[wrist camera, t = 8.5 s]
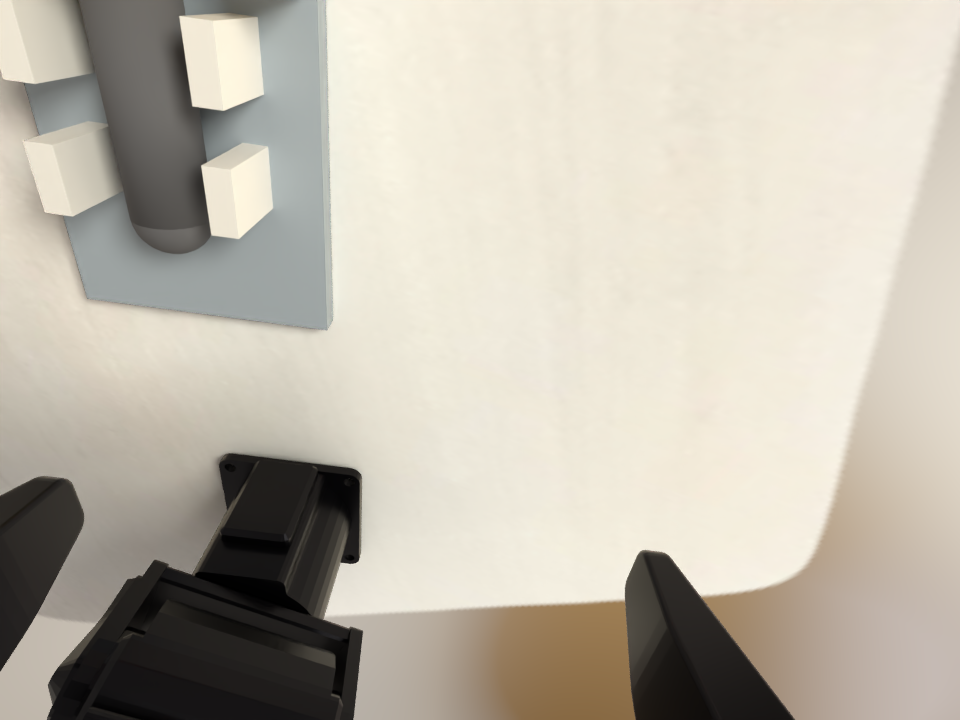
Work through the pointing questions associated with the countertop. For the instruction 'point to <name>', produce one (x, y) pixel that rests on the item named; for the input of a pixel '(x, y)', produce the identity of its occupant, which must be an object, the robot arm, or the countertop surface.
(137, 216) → the cable
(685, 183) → the countertop surface
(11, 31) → the board
